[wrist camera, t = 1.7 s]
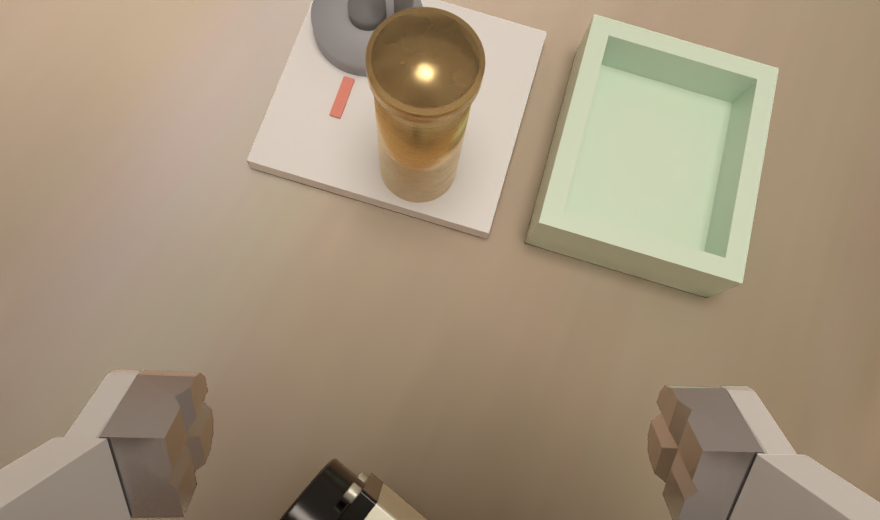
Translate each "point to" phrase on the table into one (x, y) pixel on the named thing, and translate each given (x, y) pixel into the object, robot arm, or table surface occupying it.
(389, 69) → the amber drinking glass
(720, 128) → the tray
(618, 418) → the table surface
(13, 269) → the table surface
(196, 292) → the table surface
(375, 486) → the pneumatic valve
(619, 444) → the table surface
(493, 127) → the crank jig
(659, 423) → the robot arm
